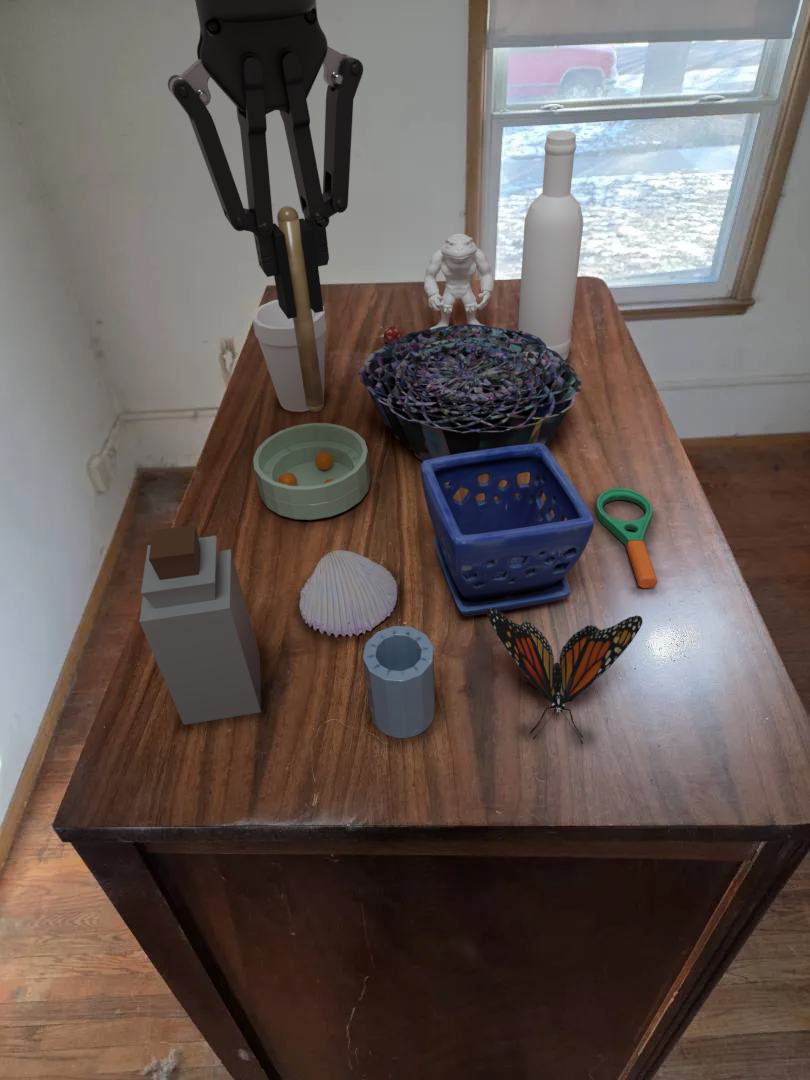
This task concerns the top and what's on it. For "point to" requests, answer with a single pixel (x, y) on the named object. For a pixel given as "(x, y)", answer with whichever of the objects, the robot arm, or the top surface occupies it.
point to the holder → (400, 681)
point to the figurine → (458, 278)
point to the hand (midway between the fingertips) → (301, 308)
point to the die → (392, 334)
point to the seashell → (347, 594)
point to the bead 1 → (288, 479)
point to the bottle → (552, 250)
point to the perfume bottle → (199, 626)
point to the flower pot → (505, 527)
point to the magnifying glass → (630, 540)
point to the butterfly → (564, 656)
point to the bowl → (312, 471)
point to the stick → (302, 309)
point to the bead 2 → (324, 461)
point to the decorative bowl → (469, 389)
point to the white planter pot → (286, 352)
